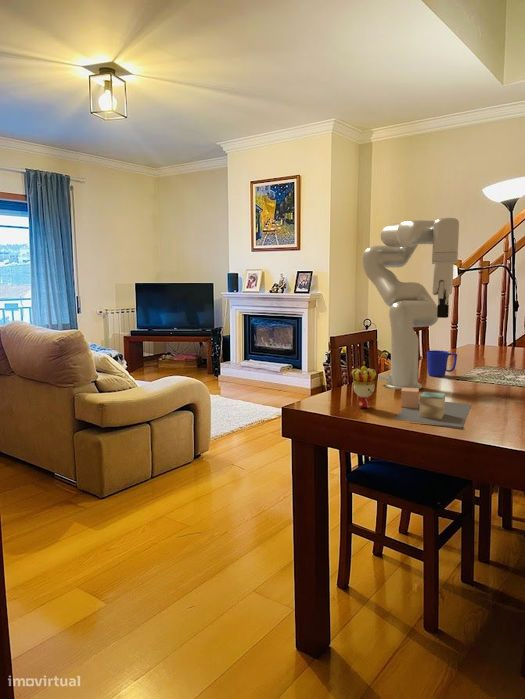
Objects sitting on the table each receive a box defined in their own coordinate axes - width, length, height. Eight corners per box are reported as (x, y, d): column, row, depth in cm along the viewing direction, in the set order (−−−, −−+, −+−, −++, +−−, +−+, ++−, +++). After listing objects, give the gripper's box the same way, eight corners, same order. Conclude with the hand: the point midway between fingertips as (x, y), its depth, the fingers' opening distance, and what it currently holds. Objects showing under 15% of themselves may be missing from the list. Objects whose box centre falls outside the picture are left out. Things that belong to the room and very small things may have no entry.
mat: (392, 421, 142) (393, 419, 141) (412, 400, 166) (412, 398, 166) (462, 429, 133) (462, 427, 133) (471, 406, 158) (472, 404, 158)
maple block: (423, 391, 149) (422, 411, 149) (419, 395, 143) (419, 416, 144) (445, 393, 146) (444, 413, 147) (442, 397, 141) (441, 418, 141)
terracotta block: (400, 406, 155) (401, 390, 155) (401, 403, 160) (401, 387, 159) (418, 408, 154) (418, 391, 153) (418, 404, 159) (418, 388, 158)
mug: (459, 377, 205) (460, 352, 204) (429, 377, 206) (430, 353, 204) (452, 373, 213) (453, 350, 212) (423, 374, 214) (424, 350, 212)
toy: (370, 414, 150) (371, 363, 148) (347, 411, 153) (348, 361, 151) (378, 408, 156) (379, 360, 154) (356, 406, 159) (357, 358, 157)
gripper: (435, 260, 168) (434, 315, 170) (428, 258, 155) (426, 318, 157) (460, 259, 164) (457, 316, 167) (454, 257, 151) (452, 319, 154)
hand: (442, 317), depth 162 cm, fingers closed
